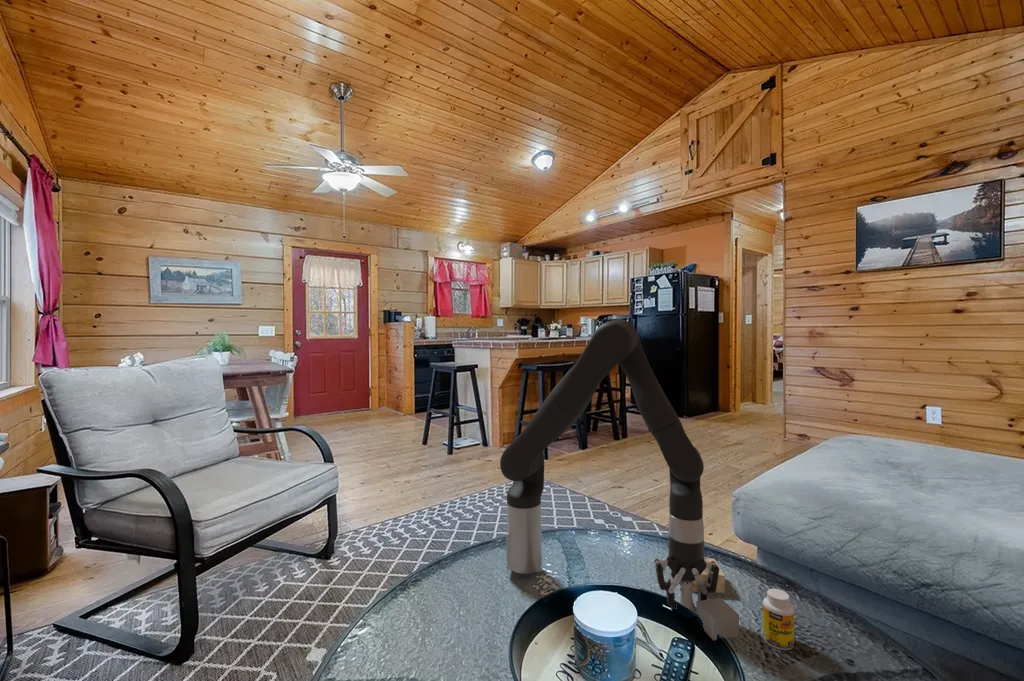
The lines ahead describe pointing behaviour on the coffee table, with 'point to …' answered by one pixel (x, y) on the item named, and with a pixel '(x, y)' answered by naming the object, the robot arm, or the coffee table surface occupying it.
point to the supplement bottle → (778, 620)
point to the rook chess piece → (687, 594)
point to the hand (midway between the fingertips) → (686, 607)
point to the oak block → (704, 577)
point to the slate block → (718, 618)
